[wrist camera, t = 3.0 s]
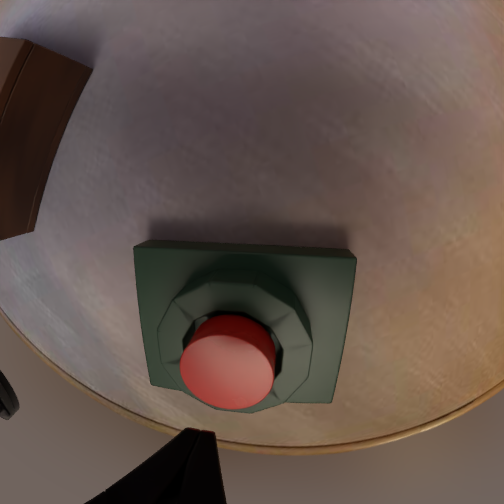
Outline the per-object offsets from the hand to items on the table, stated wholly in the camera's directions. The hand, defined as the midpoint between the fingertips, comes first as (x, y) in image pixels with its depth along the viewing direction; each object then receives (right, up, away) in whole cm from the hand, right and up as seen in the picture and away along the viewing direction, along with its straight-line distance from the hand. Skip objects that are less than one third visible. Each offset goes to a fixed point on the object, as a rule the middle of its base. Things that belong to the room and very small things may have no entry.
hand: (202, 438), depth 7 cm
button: (+1, +1, +5) cm, 5 cm away
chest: (-16, +14, +7) cm, 22 cm away
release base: (+1, +2, +8) cm, 8 cm away
